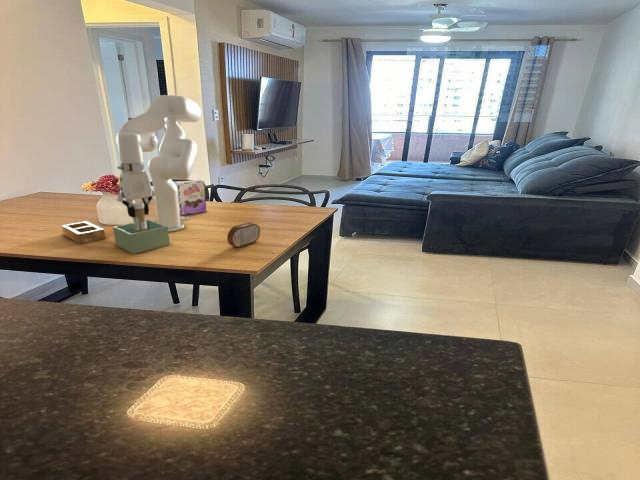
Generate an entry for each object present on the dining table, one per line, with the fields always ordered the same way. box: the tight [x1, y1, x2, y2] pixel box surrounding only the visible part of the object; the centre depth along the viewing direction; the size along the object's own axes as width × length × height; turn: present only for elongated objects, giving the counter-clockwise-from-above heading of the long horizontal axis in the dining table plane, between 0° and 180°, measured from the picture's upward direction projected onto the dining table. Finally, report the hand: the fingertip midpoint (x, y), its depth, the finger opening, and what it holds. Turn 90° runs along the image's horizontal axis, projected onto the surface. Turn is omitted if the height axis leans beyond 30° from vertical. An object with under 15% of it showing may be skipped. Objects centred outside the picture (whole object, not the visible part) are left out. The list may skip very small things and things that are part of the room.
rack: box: [61, 220, 106, 245], centre depth 156 cm, size 10×18×4 cm, turn 51°
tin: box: [226, 221, 261, 248], centre depth 151 cm, size 15×3×8 cm, turn 141°
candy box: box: [173, 179, 207, 217], centre depth 194 cm, size 14×6×16 cm, turn 129°
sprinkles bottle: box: [132, 201, 147, 233], centre depth 146 cm, size 5×5×13 cm
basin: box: [112, 219, 171, 255], centre depth 148 cm, size 14×14×8 cm
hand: (139, 215), depth 145 cm, fingers closed on sprinkles bottle, 4 cm apart
